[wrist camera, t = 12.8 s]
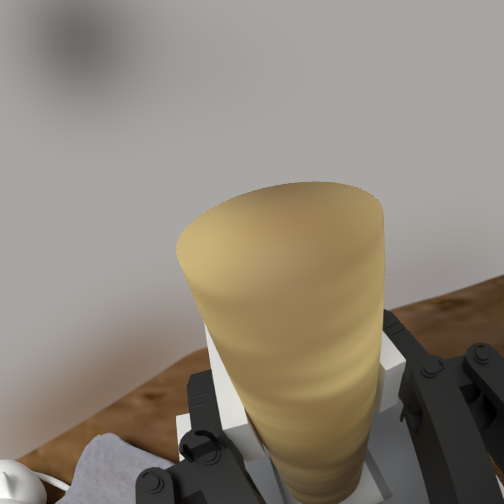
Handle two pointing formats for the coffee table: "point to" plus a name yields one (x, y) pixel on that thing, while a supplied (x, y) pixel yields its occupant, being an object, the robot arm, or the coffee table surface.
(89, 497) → the stone block
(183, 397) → the coffee table surface
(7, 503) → the cat figurine
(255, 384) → the peg
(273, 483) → the hole box
